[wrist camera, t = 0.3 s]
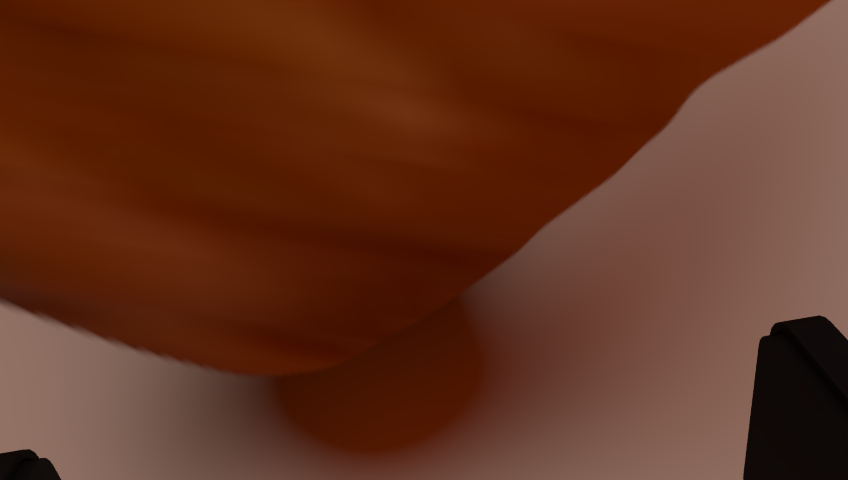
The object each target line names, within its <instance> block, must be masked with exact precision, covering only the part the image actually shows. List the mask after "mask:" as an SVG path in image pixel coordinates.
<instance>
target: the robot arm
mask: <svg viewBox="0 0 848 480" xmlns="http://www.w3.org/2000/svg"><path fill="white" fill-rule="evenodd" d="M743 476H744V477H743V480H848V340H847V339H846V338H845V337H844V336H843V334H842V333H840V331H839V330H838V329H837V328H836V327H835V326H834V325H833V324H832V323H831V322H830V321H829V320H828V319H827V318H825V317H822V316H813V317H807V318H801V319H795V320H790V321H784V322H778V323H775V324H774V326H773V327H772V329H771V332H770V335H769V336H764V337H762V338H761V340H760V343H759V348H758V356H757V365H756V373H755V382H754V390H753V398H752V407H751V416H750V424H749V433H748V441H747V450H746V458H745V466H744V475H743ZM0 480H61V479H60V477H59V475H58V473H57V471H56V470H55V468H54V466H53V465H52V463H51V462H50V461H49V460H48V459H46V458H40V459H39V457H38V456H37V455H36V453H35V452H33V451H31V450H30V449H28V450H19V451H13V452H7V453H1V454H0Z"/></svg>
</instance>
